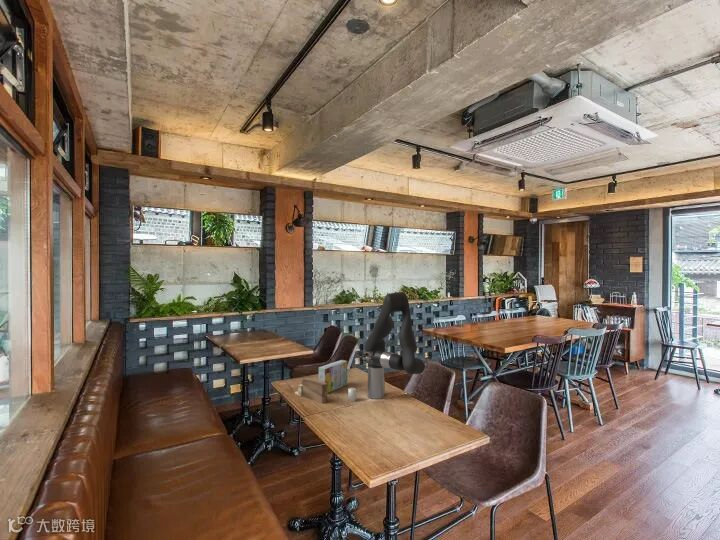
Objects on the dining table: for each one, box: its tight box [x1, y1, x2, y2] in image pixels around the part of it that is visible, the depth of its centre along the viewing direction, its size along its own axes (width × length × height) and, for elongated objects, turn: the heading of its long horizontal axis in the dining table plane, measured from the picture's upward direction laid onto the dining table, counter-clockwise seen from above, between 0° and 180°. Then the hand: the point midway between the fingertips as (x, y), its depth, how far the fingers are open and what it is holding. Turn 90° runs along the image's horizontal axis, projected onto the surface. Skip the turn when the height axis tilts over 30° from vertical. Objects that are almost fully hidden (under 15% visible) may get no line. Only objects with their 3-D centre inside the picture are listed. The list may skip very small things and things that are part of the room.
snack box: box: [318, 359, 348, 394], centre depth 227 cm, size 21×6×15 cm, turn 144°
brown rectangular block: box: [301, 377, 328, 404], centre depth 210 cm, size 4×16×10 cm, turn 49°
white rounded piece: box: [347, 387, 357, 402], centre depth 209 cm, size 5×5×6 cm
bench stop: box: [294, 377, 313, 397], centre depth 219 cm, size 11×6×8 cm, turn 139°
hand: (359, 353), depth 193 cm, fingers closed
